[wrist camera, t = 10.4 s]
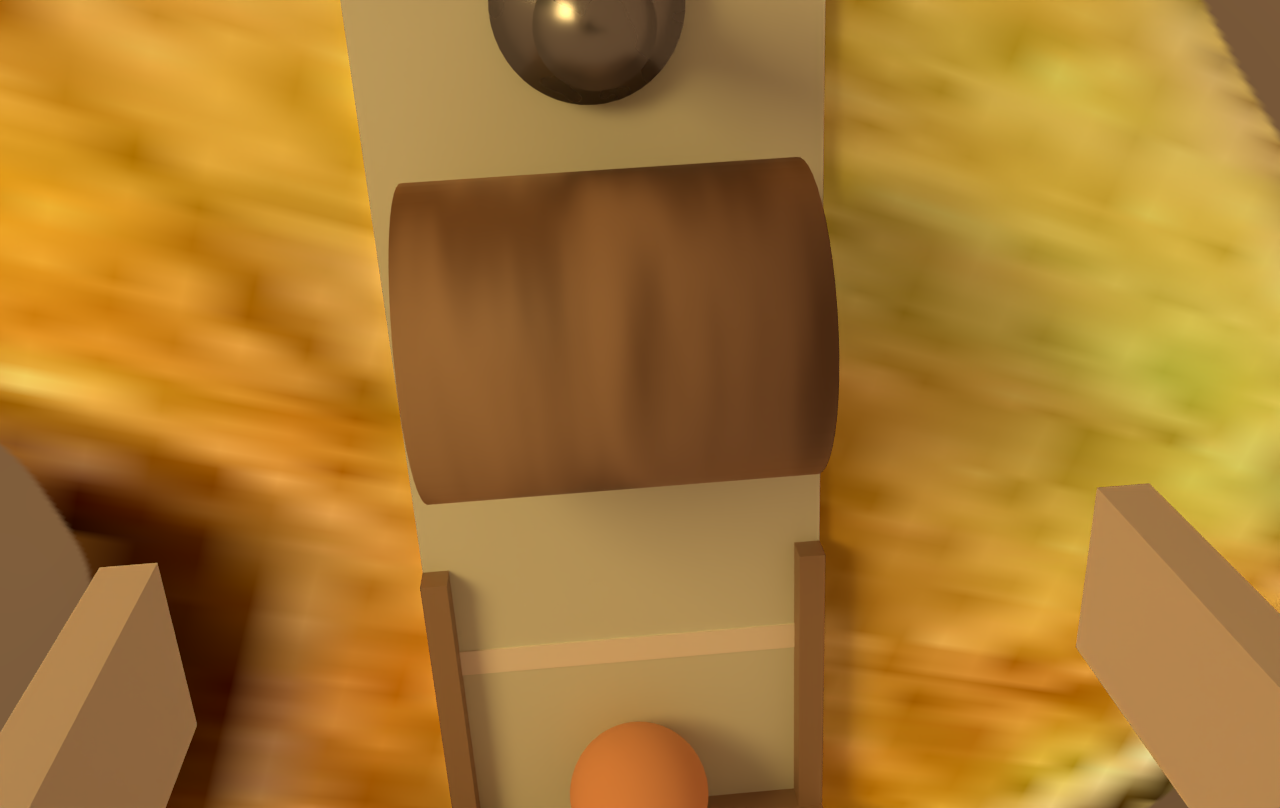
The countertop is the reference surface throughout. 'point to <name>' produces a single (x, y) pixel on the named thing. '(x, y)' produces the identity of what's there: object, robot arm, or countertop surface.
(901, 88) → the countertop surface
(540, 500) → the lane
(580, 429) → the log
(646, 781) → the ball
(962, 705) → the countertop surface
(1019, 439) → the countertop surface
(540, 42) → the doorknob
